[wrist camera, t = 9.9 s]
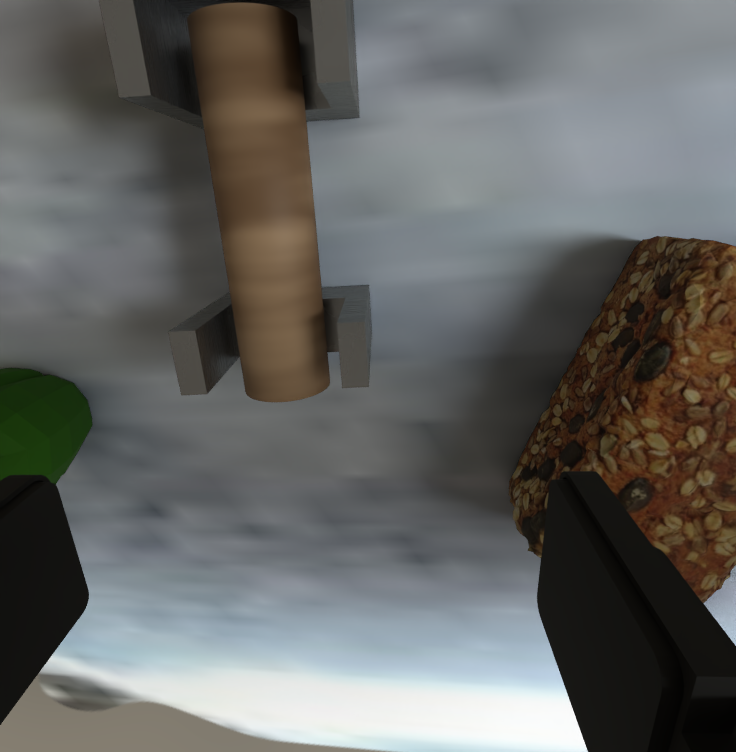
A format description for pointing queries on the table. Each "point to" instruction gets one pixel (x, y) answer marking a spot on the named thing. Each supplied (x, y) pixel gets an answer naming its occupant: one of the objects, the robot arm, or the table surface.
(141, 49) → the box
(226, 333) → the saddle bracket
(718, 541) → the bread
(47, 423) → the bell pepper
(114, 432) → the table surface
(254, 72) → the brown cylinder
